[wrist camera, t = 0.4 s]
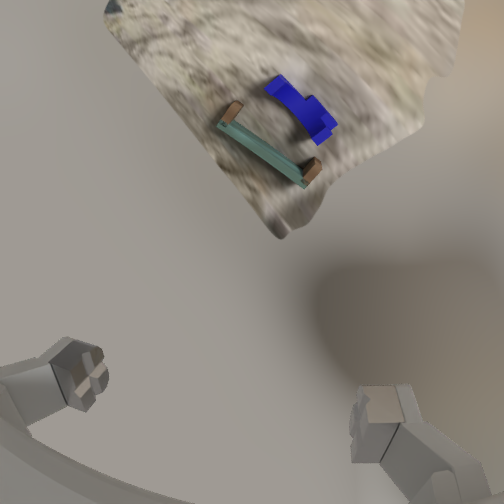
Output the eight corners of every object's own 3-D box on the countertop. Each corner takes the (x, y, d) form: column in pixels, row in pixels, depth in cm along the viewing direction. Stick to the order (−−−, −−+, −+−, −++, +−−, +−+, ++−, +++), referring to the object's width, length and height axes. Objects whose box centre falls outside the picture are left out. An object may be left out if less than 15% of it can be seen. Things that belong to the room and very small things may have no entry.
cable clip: (336, 121, 48) (340, 128, 44) (316, 136, 51) (317, 145, 46) (287, 68, 45) (286, 69, 40) (267, 85, 47) (263, 88, 42)
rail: (236, 100, 49) (232, 103, 45) (320, 161, 53) (322, 169, 50) (221, 121, 51) (215, 126, 48) (304, 180, 55) (304, 189, 52)
